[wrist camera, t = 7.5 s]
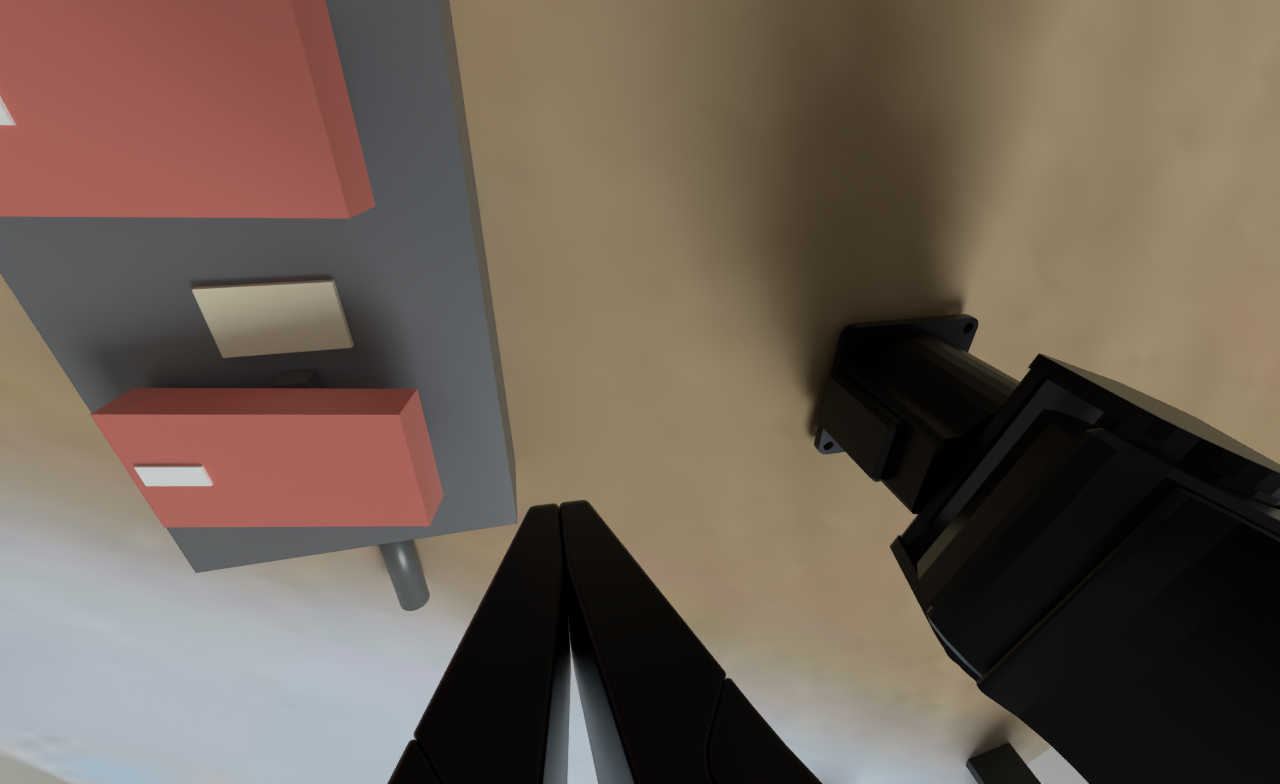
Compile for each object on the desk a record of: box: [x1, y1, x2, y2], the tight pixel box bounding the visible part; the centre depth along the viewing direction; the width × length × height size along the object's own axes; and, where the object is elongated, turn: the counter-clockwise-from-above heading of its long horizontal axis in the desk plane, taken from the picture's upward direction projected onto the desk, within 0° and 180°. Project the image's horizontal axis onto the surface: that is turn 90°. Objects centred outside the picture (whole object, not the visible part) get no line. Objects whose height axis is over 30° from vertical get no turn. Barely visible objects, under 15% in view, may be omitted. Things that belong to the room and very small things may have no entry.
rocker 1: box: [0, 0, 375, 218], centre depth 9 cm, size 7×4×1 cm, turn 89°
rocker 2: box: [90, 388, 444, 527], centre depth 13 cm, size 7×4×1 cm, turn 89°
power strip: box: [0, 0, 517, 611], centre depth 13 cm, size 10×32×4 cm, turn 179°
